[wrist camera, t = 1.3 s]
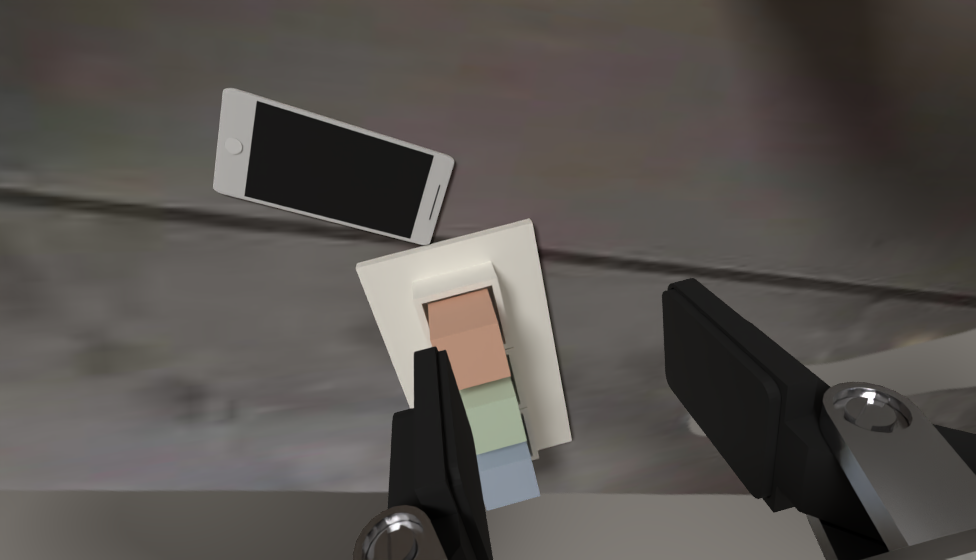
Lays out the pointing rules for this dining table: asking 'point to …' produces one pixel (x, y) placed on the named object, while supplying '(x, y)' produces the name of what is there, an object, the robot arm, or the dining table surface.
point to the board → (517, 305)
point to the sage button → (493, 415)
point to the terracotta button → (469, 338)
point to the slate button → (507, 476)
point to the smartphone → (328, 168)
